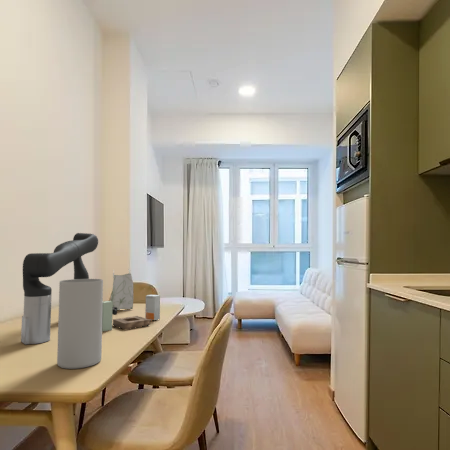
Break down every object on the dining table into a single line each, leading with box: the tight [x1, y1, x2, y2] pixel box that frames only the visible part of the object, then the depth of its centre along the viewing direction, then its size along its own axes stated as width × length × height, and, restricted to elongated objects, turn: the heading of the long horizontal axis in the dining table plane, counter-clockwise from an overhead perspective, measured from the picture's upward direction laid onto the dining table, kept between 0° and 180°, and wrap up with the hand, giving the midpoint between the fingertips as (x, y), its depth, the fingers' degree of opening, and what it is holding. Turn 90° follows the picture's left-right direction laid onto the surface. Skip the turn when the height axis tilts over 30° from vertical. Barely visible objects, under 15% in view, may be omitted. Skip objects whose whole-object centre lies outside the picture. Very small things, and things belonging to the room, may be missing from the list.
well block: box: [112, 315, 151, 330], centre depth 158 cm, size 12×12×3 cm
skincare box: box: [144, 294, 161, 321], centre depth 171 cm, size 6×4×12 cm
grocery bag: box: [109, 267, 134, 310], centre depth 213 cm, size 32×14×23 cm, turn 16°
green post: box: [102, 300, 113, 332], centre depth 150 cm, size 4×4×12 cm
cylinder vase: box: [56, 278, 104, 370], centre depth 107 cm, size 12×12×25 cm
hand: (106, 313), depth 149 cm, fingers open, 8 cm apart
